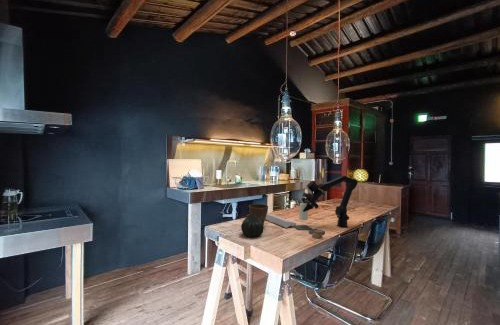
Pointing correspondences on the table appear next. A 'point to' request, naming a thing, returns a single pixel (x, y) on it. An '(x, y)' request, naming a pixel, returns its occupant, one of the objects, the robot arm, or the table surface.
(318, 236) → the walnut offcut stack
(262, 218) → the plant pot
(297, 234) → the table surface
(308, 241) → the table surface
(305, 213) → the sage plank
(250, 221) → the squash
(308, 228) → the rubber mat
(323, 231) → the offcut rack
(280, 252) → the table surface
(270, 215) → the decorative molding
